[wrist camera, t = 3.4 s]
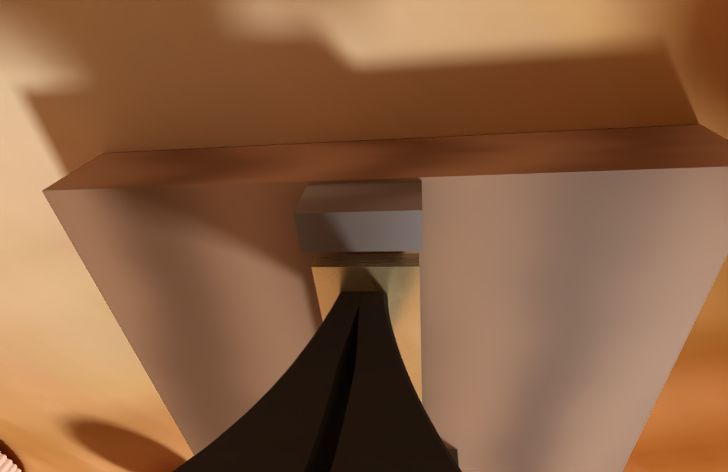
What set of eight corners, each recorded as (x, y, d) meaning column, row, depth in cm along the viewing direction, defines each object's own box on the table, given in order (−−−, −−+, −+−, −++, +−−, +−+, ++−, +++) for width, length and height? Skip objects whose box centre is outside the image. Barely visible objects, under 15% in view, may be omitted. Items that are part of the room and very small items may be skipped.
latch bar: (419, 248, 12) (419, 271, 11) (423, 469, 19) (423, 493, 18) (317, 250, 12) (310, 271, 11) (358, 465, 19) (355, 488, 18)
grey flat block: (700, 124, 12) (825, 196, 9) (593, 418, 21) (633, 521, 17) (103, 153, 15) (-2, 217, 11) (217, 402, 23) (179, 488, 20)
